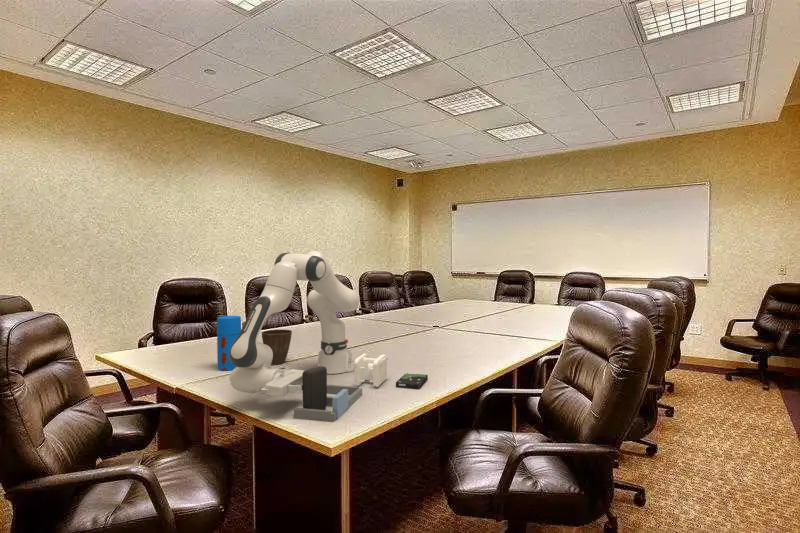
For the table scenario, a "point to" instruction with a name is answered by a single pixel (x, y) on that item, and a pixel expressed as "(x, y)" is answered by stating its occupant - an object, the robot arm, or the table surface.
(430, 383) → the table surface
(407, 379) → the disk drive
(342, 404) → the comb rack
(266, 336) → the plant pot
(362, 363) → the cable organizer
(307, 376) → the card reader
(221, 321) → the thermos
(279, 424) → the table surface
